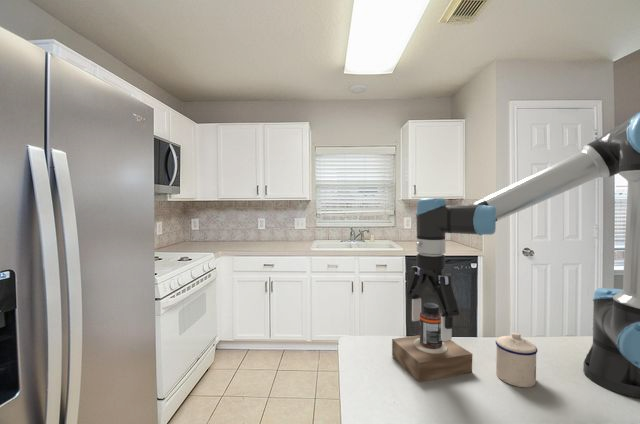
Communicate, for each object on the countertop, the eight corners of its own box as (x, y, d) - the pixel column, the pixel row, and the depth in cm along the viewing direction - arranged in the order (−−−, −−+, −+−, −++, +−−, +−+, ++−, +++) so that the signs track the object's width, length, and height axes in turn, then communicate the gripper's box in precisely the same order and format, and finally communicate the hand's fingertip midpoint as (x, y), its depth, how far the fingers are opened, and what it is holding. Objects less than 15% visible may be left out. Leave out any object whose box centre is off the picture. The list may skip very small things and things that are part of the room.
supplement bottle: (421, 338, 92) (421, 300, 91) (443, 342, 89) (443, 303, 89) (418, 347, 86) (418, 306, 86) (441, 351, 84) (441, 309, 83)
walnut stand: (472, 372, 84) (472, 352, 83) (419, 382, 79) (419, 361, 79) (438, 348, 97) (438, 331, 97) (392, 355, 93) (392, 337, 93)
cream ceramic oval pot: (545, 388, 76) (546, 341, 76) (507, 388, 76) (508, 341, 76) (515, 363, 88) (516, 322, 88) (483, 363, 88) (483, 322, 88)
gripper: (395, 248, 98) (395, 315, 99) (448, 263, 74) (448, 351, 75) (417, 246, 100) (416, 312, 101) (475, 261, 76) (474, 347, 77)
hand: (430, 329), depth 88 cm, fingers open, 13 cm apart
